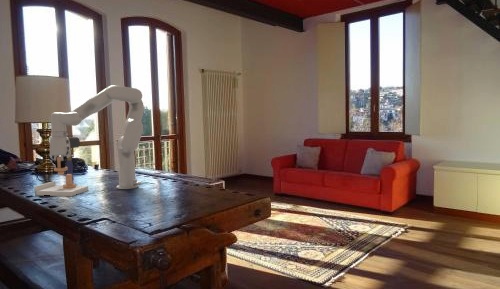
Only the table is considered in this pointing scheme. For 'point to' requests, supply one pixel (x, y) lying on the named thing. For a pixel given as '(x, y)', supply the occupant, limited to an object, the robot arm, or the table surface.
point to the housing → (60, 188)
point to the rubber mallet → (73, 144)
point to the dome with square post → (60, 167)
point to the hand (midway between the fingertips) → (60, 167)
